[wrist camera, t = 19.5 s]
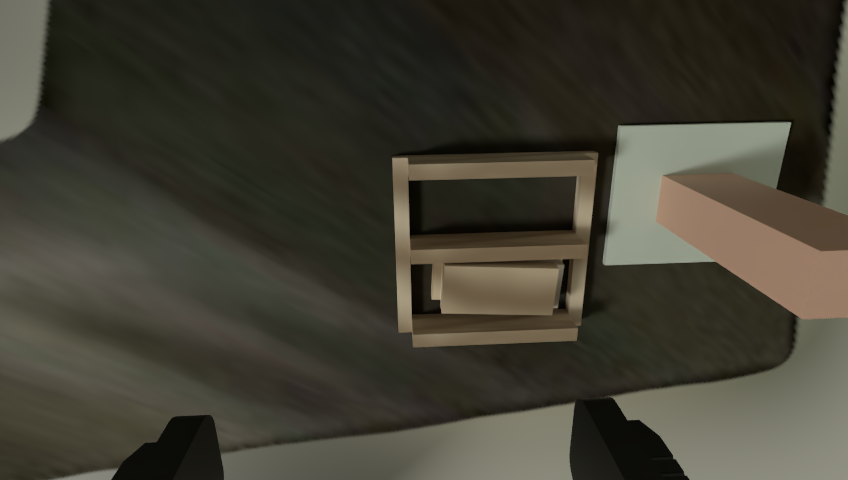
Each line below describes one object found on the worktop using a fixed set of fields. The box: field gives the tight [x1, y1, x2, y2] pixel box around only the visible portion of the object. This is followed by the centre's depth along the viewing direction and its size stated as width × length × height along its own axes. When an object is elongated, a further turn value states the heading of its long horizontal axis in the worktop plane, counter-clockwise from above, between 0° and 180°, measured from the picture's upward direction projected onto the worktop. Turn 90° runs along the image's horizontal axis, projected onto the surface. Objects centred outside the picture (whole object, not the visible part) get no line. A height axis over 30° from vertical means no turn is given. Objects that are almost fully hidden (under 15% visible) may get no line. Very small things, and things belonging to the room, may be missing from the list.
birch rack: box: [392, 151, 598, 347], centre depth 43 cm, size 16×16×4 cm
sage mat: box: [603, 122, 791, 265], centre depth 44 cm, size 12×14×1 cm
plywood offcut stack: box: [431, 259, 564, 315], centre depth 44 cm, size 4×11×4 cm, turn 87°
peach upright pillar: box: [656, 173, 848, 319], centre depth 36 cm, size 4×6×17 cm, turn 91°
